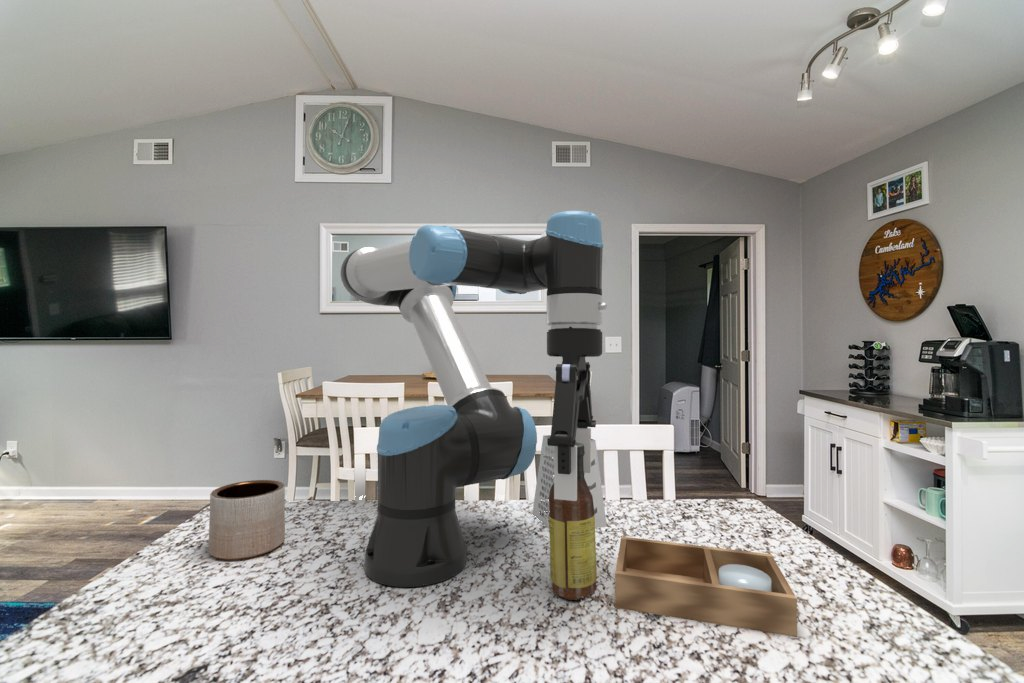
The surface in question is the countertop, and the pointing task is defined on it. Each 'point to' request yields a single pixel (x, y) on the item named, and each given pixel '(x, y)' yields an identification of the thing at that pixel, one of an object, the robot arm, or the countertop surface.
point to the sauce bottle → (573, 540)
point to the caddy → (701, 586)
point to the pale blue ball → (744, 577)
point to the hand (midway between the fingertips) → (574, 484)
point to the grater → (545, 484)
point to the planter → (246, 519)
